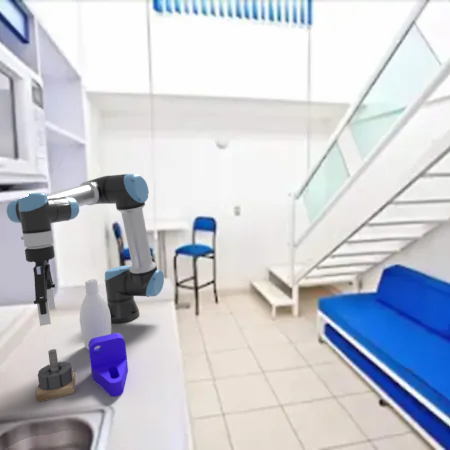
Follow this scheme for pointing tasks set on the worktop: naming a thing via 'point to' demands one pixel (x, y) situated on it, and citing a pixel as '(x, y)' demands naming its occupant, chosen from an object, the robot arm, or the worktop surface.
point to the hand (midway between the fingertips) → (48, 316)
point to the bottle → (94, 314)
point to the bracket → (109, 363)
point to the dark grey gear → (55, 376)
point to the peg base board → (62, 391)
